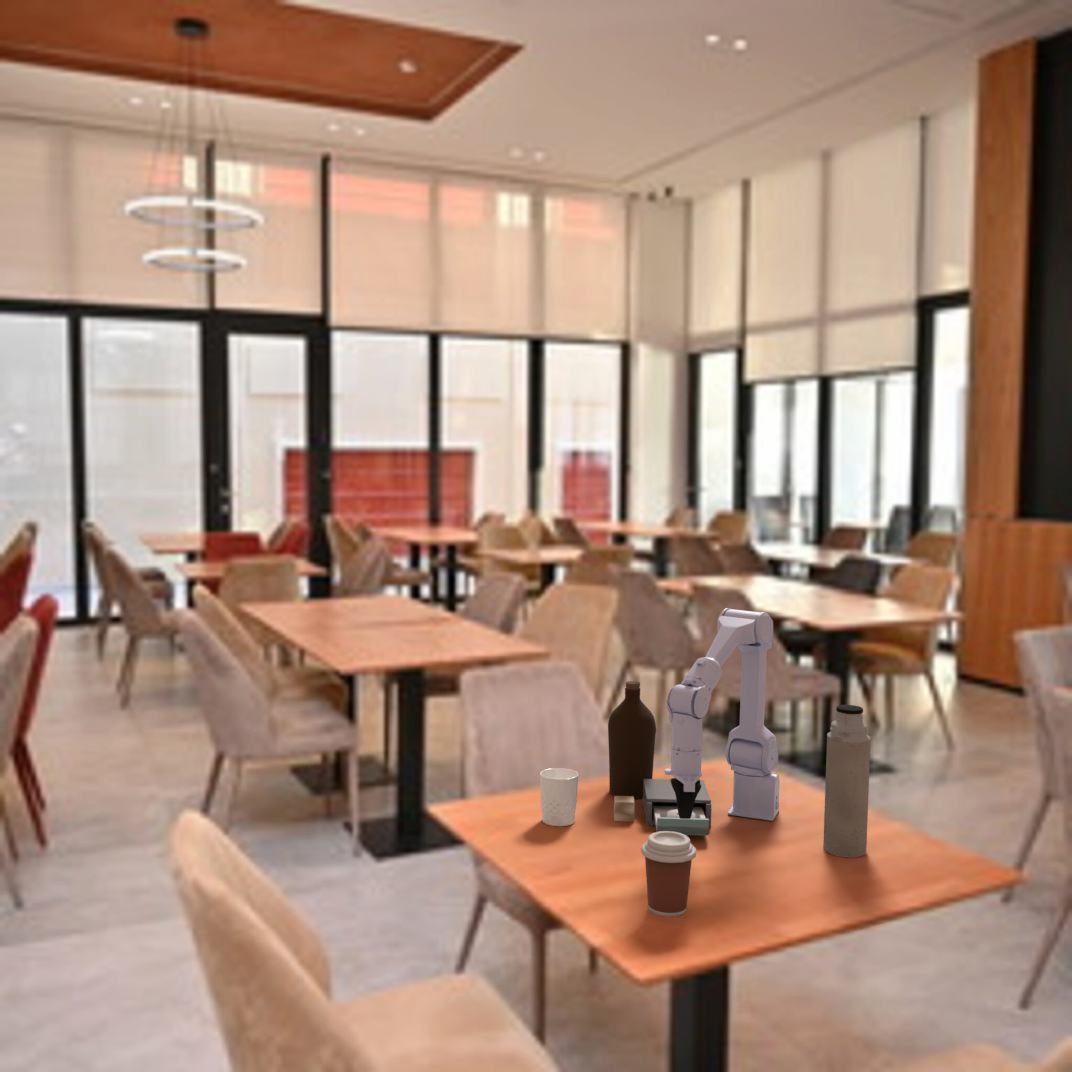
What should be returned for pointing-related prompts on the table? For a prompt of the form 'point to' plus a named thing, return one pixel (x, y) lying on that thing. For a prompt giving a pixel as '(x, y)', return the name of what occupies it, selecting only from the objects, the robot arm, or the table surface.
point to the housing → (670, 798)
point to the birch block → (624, 808)
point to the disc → (675, 814)
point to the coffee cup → (668, 872)
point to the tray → (681, 821)
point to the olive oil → (631, 744)
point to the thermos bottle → (847, 784)
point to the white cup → (558, 796)
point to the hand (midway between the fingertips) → (684, 817)
